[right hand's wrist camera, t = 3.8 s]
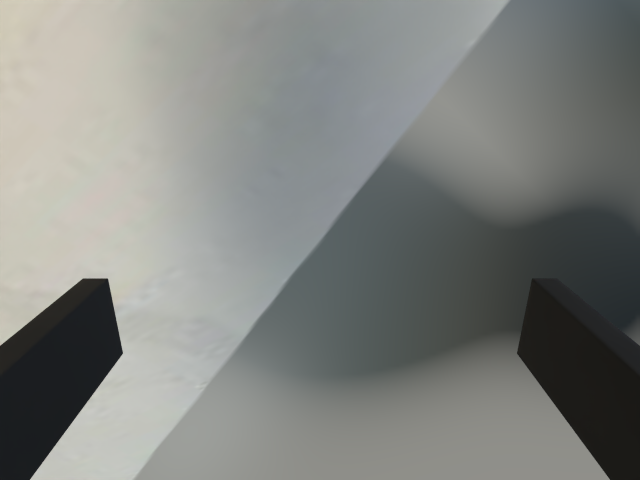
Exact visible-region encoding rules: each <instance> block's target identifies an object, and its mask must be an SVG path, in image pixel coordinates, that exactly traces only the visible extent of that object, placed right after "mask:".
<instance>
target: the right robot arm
mask: <svg viewBox="0 0 640 480" xmlns="http://www.w3.org/2000/svg"><path fill="white" fill-rule="evenodd" d="M122 354H123V351H122V346H121V341H120V336H119V331H118V326H117V321H116V317H115V312H114V307H113V302H112V297H111V292H110V287H109V282H108V279H82V280H81V281H80V282H78V283H77V284H76V285H75V286H73V287H72V288H71V289H70V290H68V291H67V292H66V293H65V294H64V295H62V296H61V297H60V298H59V299H57V300H56V301H55V302H54V303H52V304H51V305H50V306H49V307H48V308H46V309H45V310H44V311H43V312H41V313H40V314H39V315H38V316H36V317H35V318H34V319H33V320H32V321H30V322H29V323H28V324H27V325H25V326H24V327H23V328H22V329H20V330H19V331H18V332H17V333H16V334H14V335H13V336H12V337H11V338H9V339H8V340H7V341H6V342H4V343H3V344H2V345H1V346H0V480H30V479H31V477H32V476H33V475H34V473H35V472H36V471H37V469H38V468H39V467H40V465H41V464H42V462H43V461H44V460H45V458H46V457H47V456H48V454H49V453H50V452H51V450H52V449H53V448H54V446H55V445H56V443H57V442H58V441H59V439H60V438H61V437H62V435H63V434H64V433H65V431H66V430H67V429H68V427H69V426H70V424H71V423H72V422H73V420H74V419H75V418H76V416H77V415H78V414H79V412H80V411H81V410H82V408H83V407H84V405H85V404H86V403H87V401H88V400H89V399H90V397H91V396H92V395H93V393H94V392H95V391H96V389H97V388H98V387H99V385H100V384H101V382H102V381H103V380H104V378H105V377H106V376H107V374H108V373H109V372H110V370H111V369H112V368H113V366H114V365H115V363H116V362H117V361H118V359H119V358H120V357H121V355H122ZM517 354H518V355H519V357H520V358H521V359H522V361H523V362H524V363H525V365H526V366H527V368H528V369H529V370H530V372H531V373H532V374H533V376H534V377H535V378H536V380H537V381H538V382H539V384H540V385H541V386H542V388H543V389H544V391H545V392H546V393H547V395H548V396H549V397H550V399H551V400H552V401H553V403H554V404H555V405H556V407H557V408H558V410H559V411H560V412H561V414H562V415H563V416H564V418H565V419H566V420H567V422H568V423H569V424H570V426H571V427H572V429H573V430H574V431H575V433H576V434H577V435H578V437H579V438H580V439H581V441H582V442H583V443H584V445H585V446H586V448H587V449H588V450H589V452H590V453H591V454H592V456H593V457H594V458H595V460H596V461H597V462H598V464H599V465H600V466H601V468H602V469H603V471H604V472H605V473H606V475H607V476H608V477H609V479H610V480H640V346H639V345H638V344H637V343H635V342H634V341H633V340H632V339H631V338H629V337H628V336H627V335H626V334H624V333H623V332H622V331H621V330H620V329H618V328H617V327H616V326H615V325H613V324H612V323H611V322H610V321H608V320H607V319H606V318H605V317H604V316H602V315H601V314H600V313H599V312H597V311H596V310H595V309H594V308H592V307H591V306H590V305H589V304H587V303H586V302H585V301H584V300H583V299H581V298H580V297H579V296H578V295H576V294H575V293H574V292H573V291H572V290H570V289H569V288H568V287H567V286H565V285H564V284H563V283H562V282H560V281H559V280H558V279H532V282H531V287H530V292H529V297H528V302H527V307H526V312H525V317H524V321H523V326H522V331H521V337H520V341H519V346H518V351H517Z"/></svg>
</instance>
